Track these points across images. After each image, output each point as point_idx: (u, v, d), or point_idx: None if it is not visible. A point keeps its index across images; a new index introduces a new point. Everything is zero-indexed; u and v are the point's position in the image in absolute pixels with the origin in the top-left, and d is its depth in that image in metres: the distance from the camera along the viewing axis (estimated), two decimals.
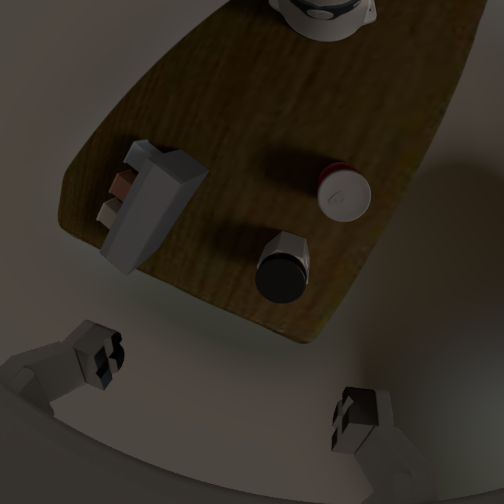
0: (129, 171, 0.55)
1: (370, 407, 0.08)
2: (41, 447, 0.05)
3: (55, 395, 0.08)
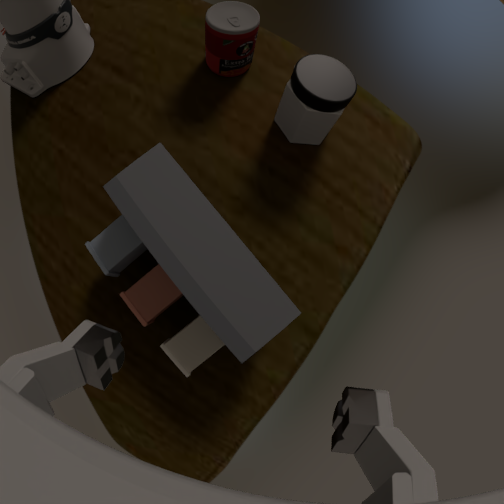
0: None
1: (370, 407, 0.08)
2: (41, 447, 0.05)
3: (55, 395, 0.08)
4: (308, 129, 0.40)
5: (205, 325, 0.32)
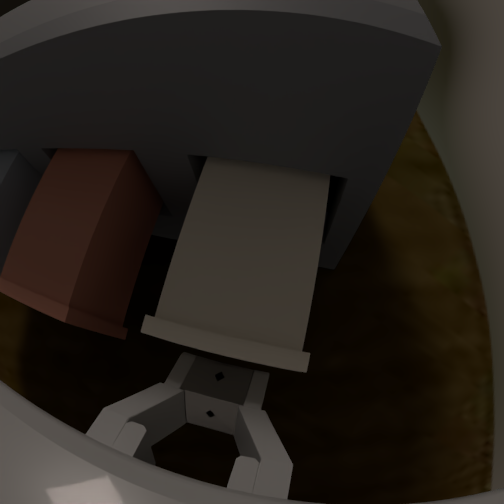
0: None
1: (240, 386, 0.09)
2: (41, 447, 0.05)
3: (153, 441, 0.08)
4: None
5: (237, 175, 0.10)
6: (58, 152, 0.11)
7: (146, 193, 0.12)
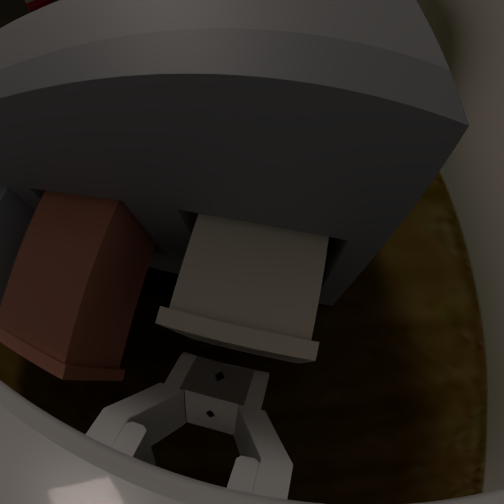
0: None
1: (240, 386, 0.09)
2: (41, 447, 0.05)
3: (153, 441, 0.08)
4: None
5: None
6: (47, 192, 0.10)
7: (138, 236, 0.12)
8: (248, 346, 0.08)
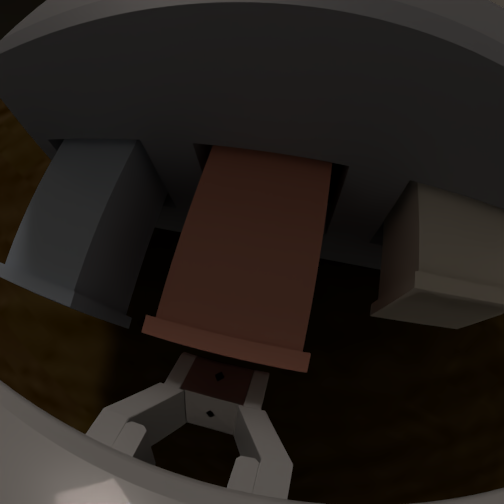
0: None
1: (240, 385, 0.09)
2: (41, 447, 0.05)
3: (153, 441, 0.08)
4: None
5: None
6: (216, 151, 0.10)
7: None
8: (484, 300, 0.07)
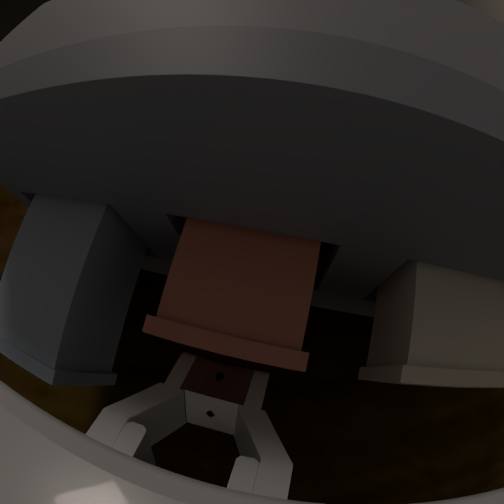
0: None
1: (240, 385, 0.09)
2: (41, 447, 0.05)
3: (153, 441, 0.08)
4: None
5: None
6: None
7: None
8: (474, 386, 0.07)
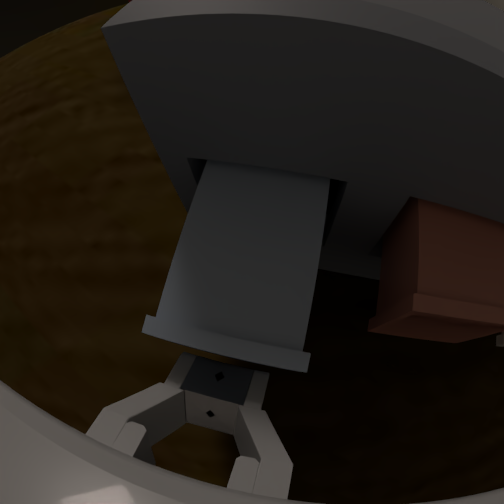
0: (376, 317, 0.11)
1: (240, 385, 0.09)
2: (41, 447, 0.05)
3: (153, 441, 0.08)
4: None
5: None
6: None
7: None
8: None
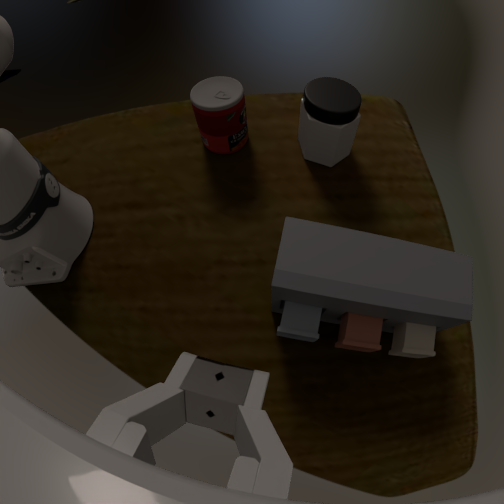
0: (336, 342, 0.34)
1: (240, 385, 0.09)
2: (41, 447, 0.05)
3: (153, 441, 0.08)
4: (342, 145, 0.44)
5: None
6: None
7: None
8: (422, 354, 0.29)
